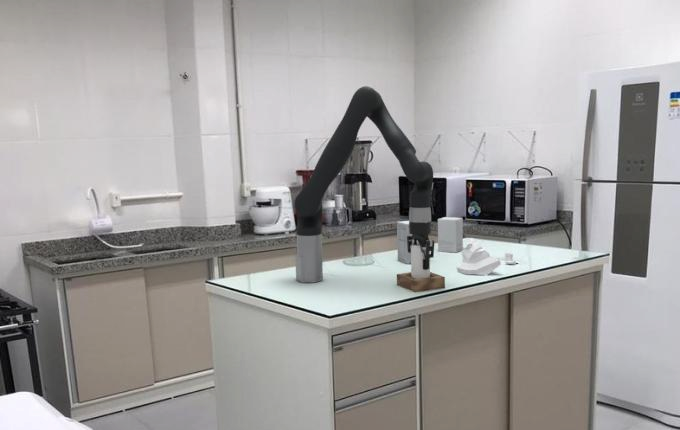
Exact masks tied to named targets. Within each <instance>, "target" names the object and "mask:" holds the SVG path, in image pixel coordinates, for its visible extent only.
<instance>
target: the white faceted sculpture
mask: <svg viewBox="0 0 680 430" xmlns="http://www.w3.org/2000/svg"><path fill="white" fill-rule="evenodd" d="M461 255H462V262H461V263H460V264H459V265H457V266H456V270H457V272H458V273H461V274H464V275H479V276H486V275H487V276H488V275H489V274H491V273H492V272H494V270H496V269H498V268H499V267H500V266H501V265H502V264H501V263H500V261H501V260H500V259H497V258H496V257H495V258H494V257H491V256H490V253H489V252H488V251H487V250H485V248H483V246H482V245H480V244H479V243H478V239H476V238H473V237H471V238H470V239H469V240H468V243H467V244H466V246H465V248H463V250H461Z"/></svg>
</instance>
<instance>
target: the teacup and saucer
mask: <svg viewBox="0 0 680 430" xmlns="http://www.w3.org/2000/svg"><path fill="white" fill-rule="evenodd" d="M513 255H514V254H513V253H511V252H506V253H504V260H505V261H504V264H505V265H508V264H514V265H515V263H516V262H514V261H515V260H513ZM501 261H502V260H500V263H501Z"/></svg>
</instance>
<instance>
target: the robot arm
mask: <svg viewBox="0 0 680 430" xmlns="http://www.w3.org/2000/svg"><path fill="white" fill-rule="evenodd" d="M367 118H368V119H369V120H370V121H371V122H372V124H374V125H375V126H376V128H377V129H378V130H379V132H380V135H381V136H382V137H383V139H384V141H385V144H386V145H387V146H388V149H389V150H390V151H391V152H392V153H393V155H394V156H395V158H396V159H397V160H398V163H399V165H400V167H401V169H402V172H403V173H404V175H405V177H406V178H407V179H408V180H409V181H410V182H411V183H413V189H412V190H411V191H410V193H409V212H408V221H409V233H410V234H412V236H407V248H408V253H410V254H411V249H410V246H411V247H412V244H413V245H415V244H416V245H419V246H420V247H419V248H420V252H421V253H422V257H423V269H424V270H428V269H429V259H430V260H431V259H433V258H434V254H435V240H432V239H429V238H430V237H429V235H431V233H432V211H431V191H432V187H433V181H434V170H433V167H432V165H431V164H430V163H429V162H428V161H420V160H419V159H418V157H417V156H416V153H417V149H416V148H415V146H414V144H412V142H411V141H410V140H409V138H408V137H407V135H406V133H404V132H403V130H402V129H401V128H400V127H399V125H398V124H397V123H396V121H395V120H394V119H393V117H392V116H391V113H390V112H389V110H388V108H387V106H386V104H385V102H384V100H383V98H382V96H381V94H380V93H379V92H378V91H376V90H375V88H373V87H371V86H367V85H364V86H361V87H360V88H358V89H357V90H356V91H355V92H354V93H353V95H352V97H351V99H350V102H349V104H348V106H347V108H346V111H345V112H344V115H343V117H342V119H341V121H339V124H338V126H337V127H336V129H335V130H334V132H333V134H332V136H331V138H329V140H328V143H326V145H325V147H324V149H323V151H322V153H321V154H320V157H319V158H318V161H317V162H316V165H315V167H314V169H313V171H312V173H311V175H310V177H309V179H308V180H307V181H306V183H305V185H304V186H303V188H302V189H301V190H300V191H299V193H297V195H296V196H295V198H294V204H293V205H294V210H295V211H296V213H297V223H296V228H295V229H296V254H295V256H294V257H295V280H297V281H298V282H299V283H317V282H321V281H323V280H324V276H323V275H324V273H323V271H324V270H323V268H324V267H323V266H324V265H323V237H322V236H323V235H322V234H323V233H322V231H323V229H322V228H323V198H324V196H325V194H326V192H327V190H328V188H329V186H331V184H332V183H333V181H335V179H336V178H337V176H338V175H339V174H340V173H341V171H342V170H343V169H344V167H345V165H346V164H347V162H348V161H349V159H350V157H351V156H352V153H353V152H354V150H355V149H354V148H355V146H356V142H357V138H358V134H359V131H360V129H361V127H362V125H363V123H364V122H365V120H366V119H367ZM421 245H422V246H421ZM422 247H426V250H423V249H422ZM429 251H430V252H429ZM425 252H426V255H425Z"/></svg>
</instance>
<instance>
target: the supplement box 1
mask: <svg viewBox="0 0 680 430" xmlns="http://www.w3.org/2000/svg"><path fill="white" fill-rule="evenodd" d="M396 226H397V227H396V232H397V234H396V235H397V237H396V238H397V242H396V243H397V244H396V245H397V261H398V262H400V263H404V264H407V265H411V254H410V253H408V248H407V236H412V234H410V233H409V220H402V221H396ZM410 249H411V246H410Z"/></svg>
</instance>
